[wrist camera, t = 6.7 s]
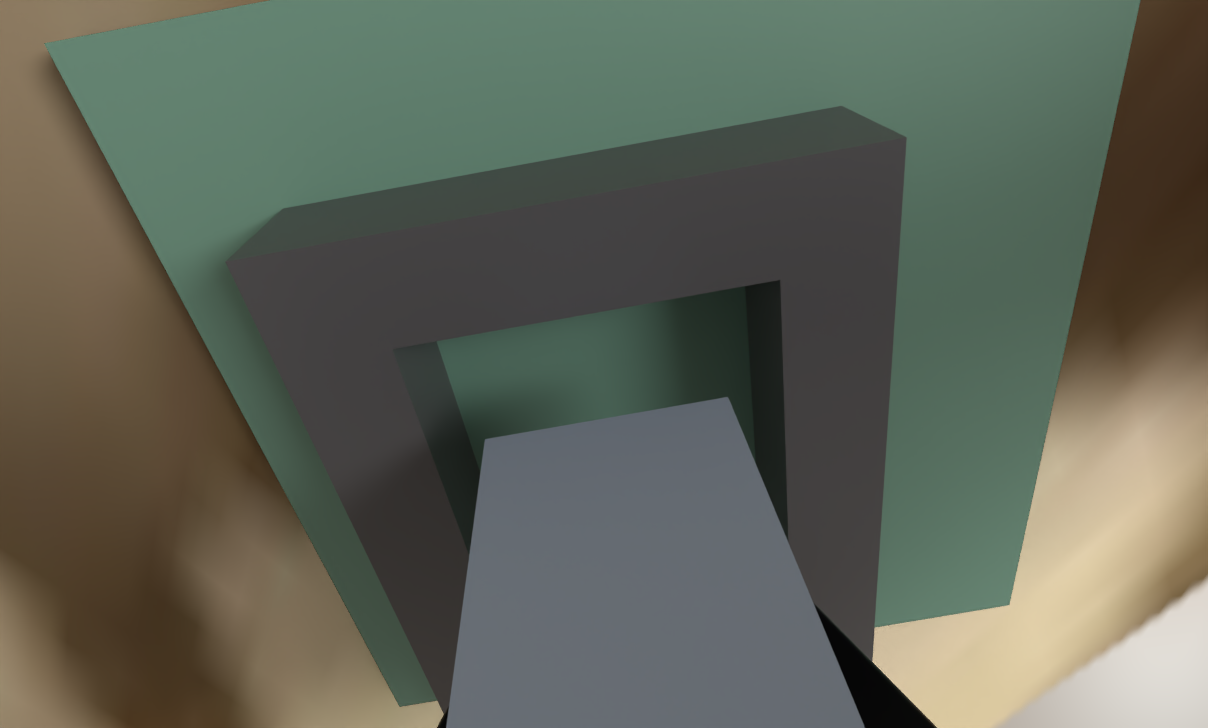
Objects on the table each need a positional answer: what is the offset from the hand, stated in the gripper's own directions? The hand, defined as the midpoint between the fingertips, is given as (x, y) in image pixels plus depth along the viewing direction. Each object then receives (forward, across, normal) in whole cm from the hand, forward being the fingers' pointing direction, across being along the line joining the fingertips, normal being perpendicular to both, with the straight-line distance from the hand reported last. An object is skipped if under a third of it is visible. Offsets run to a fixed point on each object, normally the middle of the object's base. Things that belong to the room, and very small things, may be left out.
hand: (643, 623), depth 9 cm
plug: (+1, 0, 0) cm, 1 cm away
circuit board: (+5, -1, 0) cm, 5 cm away
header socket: (+5, 0, 0) cm, 5 cm away
